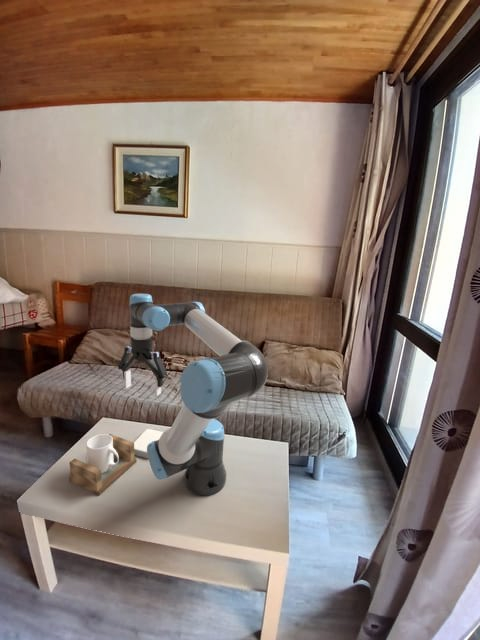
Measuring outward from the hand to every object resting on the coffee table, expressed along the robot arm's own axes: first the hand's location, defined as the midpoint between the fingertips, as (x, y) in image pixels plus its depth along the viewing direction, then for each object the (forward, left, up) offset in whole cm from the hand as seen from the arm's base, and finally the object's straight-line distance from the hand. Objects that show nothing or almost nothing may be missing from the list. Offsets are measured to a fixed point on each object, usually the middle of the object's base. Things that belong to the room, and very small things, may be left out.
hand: (142, 390), depth 116 cm
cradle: (+7, +14, -28) cm, 32 cm away
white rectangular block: (+2, -5, -28) cm, 29 cm away
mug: (+6, +13, -27) cm, 31 cm away
